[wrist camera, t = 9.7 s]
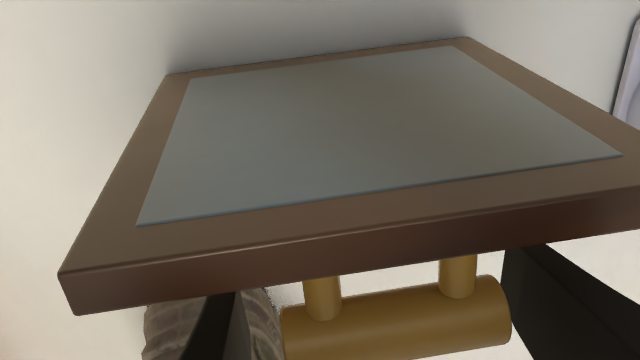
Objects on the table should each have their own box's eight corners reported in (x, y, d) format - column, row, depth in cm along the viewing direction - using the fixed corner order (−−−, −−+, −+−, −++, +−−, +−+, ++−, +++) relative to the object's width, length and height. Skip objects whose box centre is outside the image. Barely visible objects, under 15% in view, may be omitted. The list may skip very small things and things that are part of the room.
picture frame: (725, 172, 9) (668, 347, 11) (469, 34, 20) (464, 137, 22) (52, 272, 8) (126, 440, 10) (164, 73, 19) (189, 176, 21)
